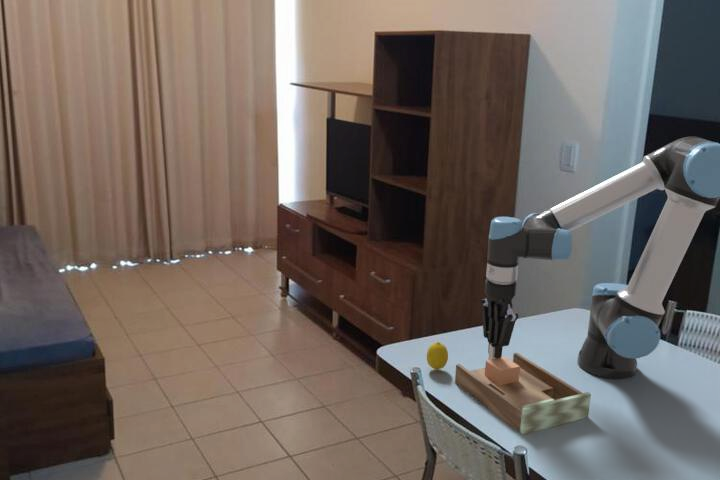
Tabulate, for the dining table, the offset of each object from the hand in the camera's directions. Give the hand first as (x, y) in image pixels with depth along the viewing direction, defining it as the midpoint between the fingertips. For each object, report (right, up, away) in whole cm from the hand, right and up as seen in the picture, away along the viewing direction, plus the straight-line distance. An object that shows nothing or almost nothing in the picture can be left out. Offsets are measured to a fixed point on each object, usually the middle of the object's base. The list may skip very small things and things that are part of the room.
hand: (493, 367), depth 180 cm
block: (+1, -2, -3) cm, 4 cm away
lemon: (-14, -2, +6) cm, 15 cm away
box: (+4, -6, -8) cm, 11 cm away
